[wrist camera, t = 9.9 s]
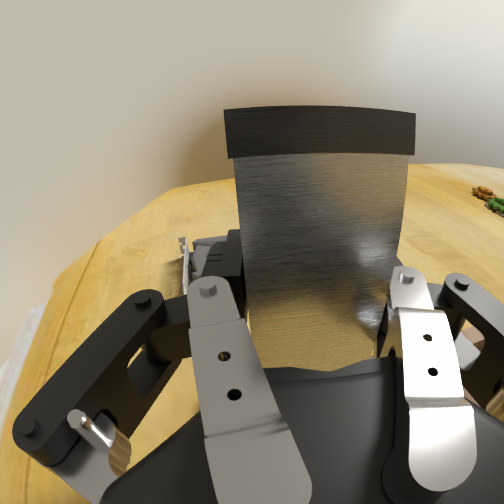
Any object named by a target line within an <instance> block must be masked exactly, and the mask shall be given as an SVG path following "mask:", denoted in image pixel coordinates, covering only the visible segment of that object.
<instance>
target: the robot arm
mask: <svg viewBox="0 0 504 504" xmlns="http://www.w3.org/2000/svg"><path fill="white" fill-rule="evenodd" d="M386 297H387V301H386V305H385V309H384V312H383V316H382V320H381V324H380V327H379V331H378V333H377V334H376V337H375V340H374V358H373V359H366V360H362V361H359V362H357V363H354V364H351V365H348V366H345V367H343V368H340V369H337V370H334V371H319V370H311V369H303V368H296V367H275V368H263V367H262V365H261V362H260V359H259V357H258V354H257V351H256V349H255V346H254V343H253V340H252V338H251V335H250V332H249V330H248V327H247V312H248V301H247V292H246V282H245V273H244V263H243V253H242V243H241V233H240V229H233V230H229V231H228V235H227V239H226V241H220V242H216V243H215V244H214V245H213V246H212V247H211V248H210V250H209V253H208V256H207V259H206V262H205V265H204V268H203V271H202V274H201V277H200V278H199V279H197V280H195V281H193V282H192V283H191V284H190V285H189V286H188V288H187V294H186V295H183V296H180V297H177V298H172V299H168V300H164V299H163V296H162V294H161V293H160V292H159V291H157V290H152V289H147V290H141V291H138V292H136V293H134V294H132V295H130V296H129V297H128V298H127V299H126V300H125V301H124V302H123V303H122V304H121V305H120V306H119V307H118V308H117V309H116V310H115V311H114V312H113V313H112V314H111V315H110V316H109V317H108V318H107V319H106V320H105V321H104V322H103V323H102V324H101V325H100V326H99V327H98V328H97V329H96V330H95V331H94V332H93V333H92V334H91V335H90V336H89V337H88V338H87V339H86V340H85V341H84V342H83V343H82V344H81V345H80V347H79V348H78V349H77V350H76V351H75V352H74V353H73V354H72V355H71V356H70V357H69V358H68V359H67V360H66V361H65V363H64V364H63V365H62V366H61V367H60V368H59V369H58V370H57V371H56V372H55V373H54V375H53V376H52V377H51V378H50V379H49V380H48V381H47V382H46V384H45V385H44V386H43V387H42V388H41V389H40V390H39V391H38V393H37V394H36V395H35V396H34V397H33V398H32V400H31V401H30V402H29V403H28V404H27V405H26V407H25V408H24V409H23V410H22V411H21V412H20V414H19V415H18V416H17V418H16V419H15V421H14V424H13V429H12V434H13V439H14V442H15V443H16V445H17V446H18V447H19V448H20V449H21V450H23V451H24V452H25V453H27V454H28V455H29V456H31V457H32V458H34V459H35V460H36V461H37V462H38V463H39V464H40V465H42V466H43V467H45V468H46V469H48V470H49V471H51V472H52V473H54V474H55V475H57V476H59V477H60V478H61V479H62V480H64V481H65V482H66V483H67V484H68V485H69V486H70V487H72V488H73V489H74V490H75V491H76V492H78V493H79V494H80V495H81V496H83V497H84V498H85V499H86V500H88V501H89V502H90V503H92V504H504V305H503V304H502V303H501V302H500V301H498V300H497V299H496V298H495V297H494V296H492V295H491V294H490V293H489V292H487V291H486V290H485V289H484V288H482V287H481V286H480V285H479V284H477V283H476V282H475V281H473V280H472V279H471V278H469V277H467V276H465V275H463V274H459V273H451V274H449V275H447V276H446V278H445V281H444V284H443V285H440V284H432V283H426V280H425V277H424V276H423V274H422V273H421V272H419V271H418V270H416V269H414V268H411V267H407V266H403V264H402V263H401V261H400V260H399V259H398V257H397V256H396V260H395V265H394V270H393V275H392V279H391V283H390V284H389V287H388V292H387V296H386ZM466 319H467V320H468V321H469V322H470V323H471V324H472V325H473V326H474V327H475V328H476V329H477V330H478V331H479V332H480V333H481V334H482V335H483V337H484V340H485V344H484V347H483V349H482V351H481V352H480V351H479V350H478V349H477V348H476V347H475V346H474V345H473V344H472V343H471V342H470V341H469V340H468V339H467V338H466V337H465V336H464V335H463V334H462V333H461V332H460V331H461V329H462V327H463V325H464V323H465V320H466ZM140 347H141V349H142V351H141V352H140V353H139V355H138V356H137V357H136V358H135V360H134V361H133V362H132V363H131V365H130V366H129V367H128V368H127V366H128V363H129V361H130V359H131V358H132V357H133V356H134V354H135V353H136V352H137V351H138V349H139V348H140ZM188 357H192V361H193V368H194V375H195V381H196V387H197V394H198V400H199V405H200V411H199V412H198V413H196V414H195V415H194V416H193V417H192V418H191V419H190V420H189V421H187V422H186V423H185V424H184V425H183V426H182V427H181V428H179V429H178V430H177V431H176V432H175V433H174V434H172V435H171V436H170V437H169V438H168V439H167V440H165V441H164V442H163V443H162V444H161V445H159V446H158V447H157V448H156V449H154V450H153V451H152V452H151V453H149V454H148V455H147V456H146V457H144V458H143V459H142V460H141V461H139V462H138V463H137V464H136V465H134V466H133V467H132V468H130V469H129V470H128V471H126V467H127V466H128V464H129V463H130V456H131V444H130V442H129V438H130V437H131V435H132V434H133V432H134V431H135V430H136V428H137V427H138V425H139V424H140V422H141V421H142V419H143V418H144V416H145V415H146V413H147V412H148V410H149V409H150V407H151V406H152V405H153V403H154V402H155V400H156V399H157V397H158V396H159V394H160V393H161V391H162V390H163V388H164V387H165V385H166V384H167V382H168V381H169V379H170V378H171V376H172V375H173V374H174V372H175V371H176V369H177V368H178V366H179V365H180V363H181V361H182V359H183V358H188ZM462 386H463V387H464V388H465V389H466V390H467V391H468V393H469V394H470V395H471V396H472V397H473V399H474V400H475V401H476V402H477V403H478V405H479V406H480V407H479V406H478V405H476V404H475V403H473V402H472V401H470V400H469V399H467V398H466V397H464V395H463V390H462Z"/></svg>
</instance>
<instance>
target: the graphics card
mask: <svg viewBox="0 0 504 504" xmlns="http://www.w3.org/2000/svg"><path fill="white" fill-rule="evenodd" d="M178 239H179V243H181V242H182V244H181V245H180V250H181V254H184V256H182V257H184V264H183V281H182V293H183V295H186V294H187V288H188V286H189V285H190V284H191V283H192V282H193V281H195V280H197V279H199V278H200V277H201V274H202V271H203V268H204V265H205V262H206V259H207V256H208V253H209V250H210V248H211V247H212V246H213V245H214V244H215V243H216V242H220V241H226V239H227V235H226V236H219V237H211V238H204V239H197V240H195V241H193V242H192V244H193V249H194V252H189V247H188V242H187V237H181V238H178ZM183 245H185V248H184V249H183ZM186 261H187V262H186ZM185 262H186V263H185ZM189 263H190V264H189ZM191 267H193V268H194V269H192V268H191ZM192 278H193V280H192ZM190 279H191V280H190Z"/></svg>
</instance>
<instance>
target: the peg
mask: <svg viewBox="0 0 504 504" xmlns="http://www.w3.org/2000/svg"><path fill="white" fill-rule="evenodd" d="M415 120H416V114H415V113H408V112H401V111H393V110H383V109H373V108H361V107H345V106H344V107H343V106H268V107H250V108H238V109H227V110H224V121H225V132H226V142H227V152H228V159H230V158H233V160H234V171H235V182H236V192H237V203H238V213H239V223H240V233H241V243H242V253H243V263H244V273H245V282H246V292H247V301H248V311H249V320H250V329H251V338H252V340H253V343H254V346H255V349H256V351H257V354H258V357H259V359H260V362H261V365H262V367H263V368H275V367H296V368H303V369H311V370H319V371H334V370H337V369H340V368H343V367H345V366H348V365H351V364H354V363H357V362H359V361H362V360H366V359H370V357H371V353H372V350H373V347H374V340H375V337H376V334H377V333H378V331H379V327H380V324H381V320H382V316H383V312H384V309H385V305H386V301H387V297H386V296H387V292H388V287H389V284H390V283H391V279H392V275H393V270H394V265H395V260H396V255H397V249H398V244H399V238H400V232H401V225H402V218H403V211H404V203H405V194H406V184H407V173H408V159H409V155H414V153H415V124H416V121H415Z"/></svg>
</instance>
